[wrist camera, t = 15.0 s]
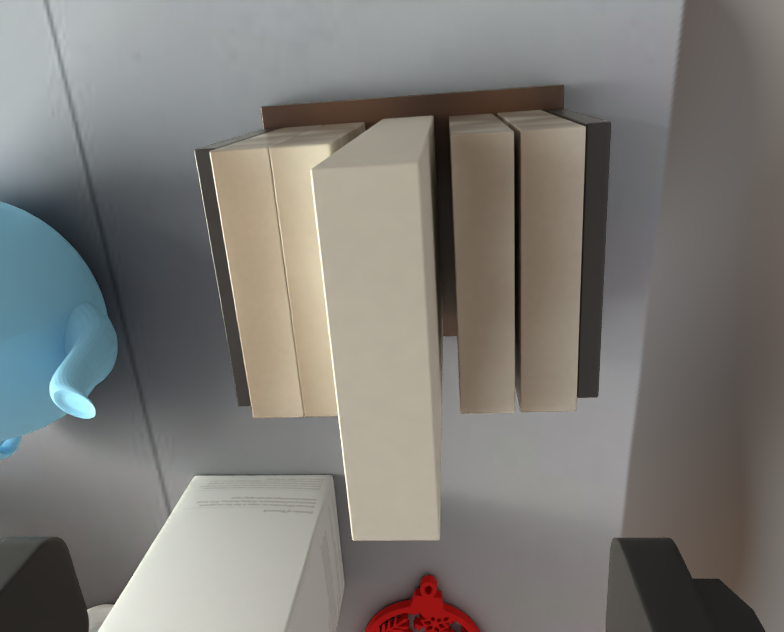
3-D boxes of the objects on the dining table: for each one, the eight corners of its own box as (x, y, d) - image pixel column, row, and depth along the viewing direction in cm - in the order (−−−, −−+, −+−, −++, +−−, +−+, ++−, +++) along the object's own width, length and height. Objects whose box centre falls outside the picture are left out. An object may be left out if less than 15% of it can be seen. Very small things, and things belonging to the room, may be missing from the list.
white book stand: (559, 84, 30) (621, 89, 19) (555, 324, 34) (603, 435, 23) (266, 105, 31) (176, 121, 21) (296, 333, 35) (234, 442, 25)
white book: (433, 115, 30) (419, 161, 14) (443, 317, 33) (440, 541, 17) (382, 118, 30) (309, 168, 14) (396, 319, 33) (352, 541, 17)
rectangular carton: (190, 471, 39) (48, 691, 25) (335, 470, 38) (271, 698, 24) (212, 588, 42) (98, 841, 28) (347, 590, 41) (296, 851, 27)
